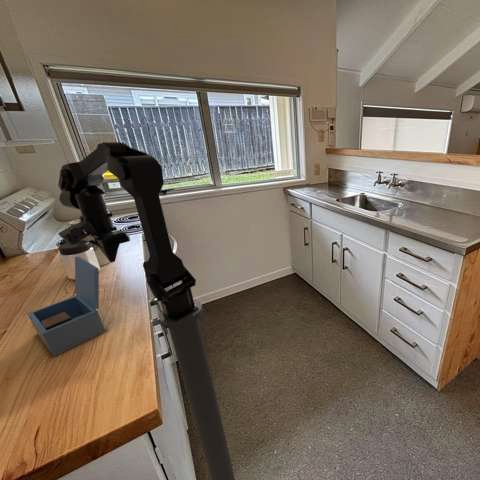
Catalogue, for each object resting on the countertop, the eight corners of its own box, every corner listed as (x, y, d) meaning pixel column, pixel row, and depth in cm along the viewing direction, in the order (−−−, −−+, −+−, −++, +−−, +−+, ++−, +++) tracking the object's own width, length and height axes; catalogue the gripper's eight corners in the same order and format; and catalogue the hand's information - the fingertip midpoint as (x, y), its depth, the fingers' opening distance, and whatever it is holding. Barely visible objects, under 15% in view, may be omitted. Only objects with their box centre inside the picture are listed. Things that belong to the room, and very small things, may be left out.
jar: (69, 282, 88) (55, 251, 84) (68, 274, 94) (56, 244, 90) (102, 274, 94) (91, 243, 90) (99, 267, 100) (89, 238, 95)
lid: (94, 268, 61) (98, 268, 61) (74, 256, 68) (78, 256, 68) (94, 309, 62) (98, 308, 63) (75, 293, 69) (79, 292, 70)
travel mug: (85, 263, 103) (69, 220, 97) (110, 258, 108) (96, 216, 101) (84, 270, 97) (66, 225, 91) (110, 264, 102) (95, 221, 95)
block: (71, 325, 66) (64, 311, 64) (77, 332, 64) (70, 317, 62) (47, 336, 62) (40, 321, 61) (52, 343, 60) (45, 327, 59)
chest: (53, 356, 57) (42, 334, 55) (37, 334, 64) (26, 313, 62) (105, 331, 65) (97, 310, 62) (85, 313, 72) (77, 294, 69)
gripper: (44, 213, 69) (66, 265, 75) (67, 222, 60) (90, 281, 65) (95, 205, 78) (111, 252, 84) (122, 211, 69) (138, 264, 74)
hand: (112, 261), depth 76 cm, fingers closed
